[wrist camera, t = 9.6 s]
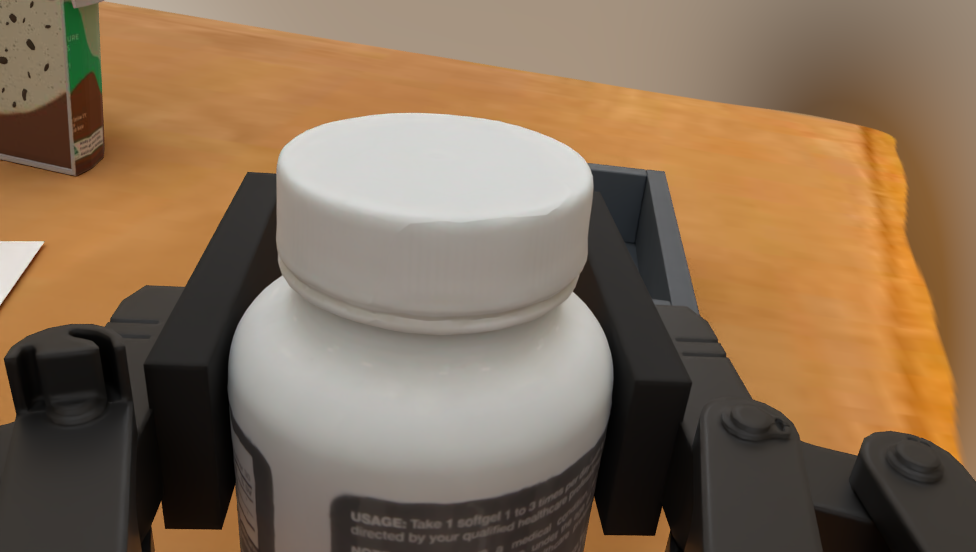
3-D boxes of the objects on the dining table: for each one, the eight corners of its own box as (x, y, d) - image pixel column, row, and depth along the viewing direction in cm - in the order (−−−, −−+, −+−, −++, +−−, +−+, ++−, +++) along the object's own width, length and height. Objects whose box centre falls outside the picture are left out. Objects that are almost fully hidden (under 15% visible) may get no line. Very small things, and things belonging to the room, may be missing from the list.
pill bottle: (593, 619, 16) (694, 144, 12) (480, 898, 12) (570, 305, 7) (358, 521, 18) (366, 75, 13) (182, 731, 13) (103, 170, 9)
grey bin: (346, 377, 26) (346, 273, 25) (418, 223, 37) (421, 143, 36) (676, 420, 26) (700, 316, 24) (649, 250, 37) (665, 171, 35)
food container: (183, 145, 44) (164, -54, 39) (101, 182, 39) (68, -43, 34) (0, 108, 47) (-37, -81, 42) (-99, 137, 42) (-154, -75, 37)
